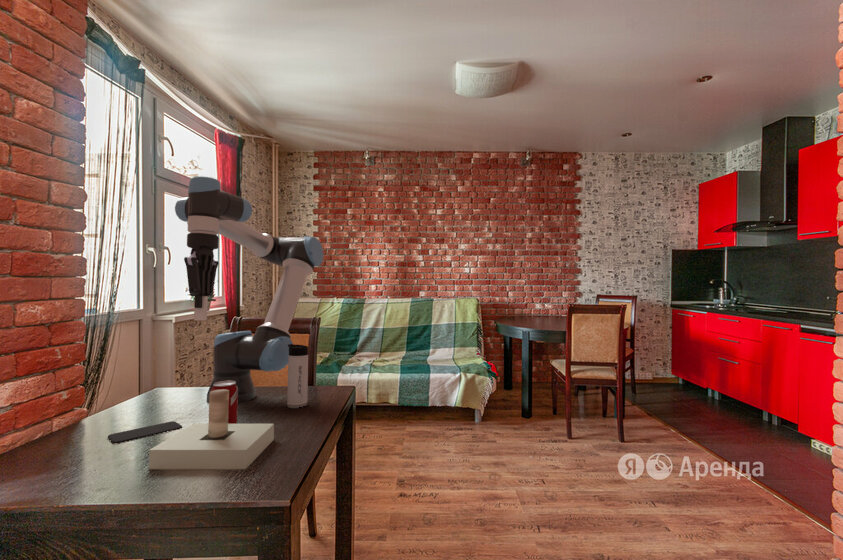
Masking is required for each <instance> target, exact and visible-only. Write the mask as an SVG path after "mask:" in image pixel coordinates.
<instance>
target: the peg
mask: <svg viewBox="0 0 843 560" xmlns="http://www.w3.org/2000/svg"><path fill="white" fill-rule="evenodd" d="M228 408H229V390H225V389H222V390H214V391H211V392H210V394H209V403H208V423H207V424H208V440H225V439H226V438H227V437H228Z"/></svg>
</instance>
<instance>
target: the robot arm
mask: <svg viewBox="0 0 843 560" xmlns="http://www.w3.org/2000/svg"><path fill="white" fill-rule="evenodd" d="M221 189H222V187H221V181H220V180H218V179H217V178H214V177H211V176H206V175H197V176H196V175H195V176H192V177H191V178H190V179H189V183H188V190H187V194H188V195H187V197H182V198H180V199H178V200H177V201H176V203H175V206H174V211H175V215H176V217H178V219H179V220H180V221H182V222H186V223H187V232H189V233H187V235H186V246H187V247H188V248H190V249H191V250H190V254H189V256H185V257H184V259H183V260H184V263H185V267H186V274H187V275H186V277H187V285H188V293H189V295H190V297H194V307H193V308H194V309H193V321H207V320H208V307H209V306H208V305H209V304H208V300H209V299H208V298H209V297H212V296H213V293H214V288H215V281H216V276H217V275H216V274H217V270H218V266H219V263H220V262H219V261H218V260H215V259H214V258H215V255H214V250H218V249H219V242H220V241H219V240H220V238H219V237H220V236H218V235H221V236H222V237H224V238H227V239H228V240H230V241H232V242H234V243H236V244H238V245H240V246H242V247H244V248H246V249H248V250H250V251H251V253H252V254H253V255H254V256H256V257H258V258H260V259H261V260H264V261H266V262H268V263H271V264H273V265H276V266H281V267H283V268H284V270H283V272H282V274H281V278H280V280H279V283H278V286H277V288H276V290H275V293H274V294H273V295H274V296H273V299H272V301H271V304H270V306H269V309H268V312H267V314H266V316H265V319H264V322H263V324H261V325H259V326H257V328H256V329H255V332H254V334H253V333H252V331H251V330H243V331H242V330H241V331H234V332H228V333H227V332H226V333H220V334H217V335H216V336H215V337H214V341H213V342H214V345H213V376H212V380H211V382H210V385H209V387H208V390H207V393H206V402H207V403H208V404H209V394H210V391H211V389H212V388H213V384H214V383H216V382H221V381H235V382H236V384H235V385H236V386H237V387H238V404H239V403H244V402H247V401H250V399H251V400H252V398H253V399H254V398H255V397H256V388H255V385H254V382H253V378H252V376H251V371H261V372H278V371H281V370H282V369H284V368H286V366H288V357H289V356H288V355H289V347H288V345H289V344H293V345H294V343H293V341H292V337H291V336H292V335H291V333H290V332H289V329H290V326H291V324H292V321H293V318H294V315H295V312H296V310H297V306H298V303H299V300H300V297H301V294H302V291H303V288H304V286H305V282H306V280H307V277H308V276H310V275H312V274H313V271H314V268H315V267H319V266H321V265H322V264H323V261H324V250H323V246H322V244H321V242H320V240H319V239H318V238H317V237H314V236H307V235H305V236H294V237H293V236H292V237H286V236H285V237H283V236H282V237H279V236H272V235H271V234H269V233H262V232H260V231H259V230H256V229H255V228H253V227H252V226H249V225H248V224H246V223H245V222H247V221H248V220H250V218H251V216H252V214H253V206H252V204H251V202H250V201H249V200H248V199H246V198H244V197H242V196H239V195H236V194H232V193H230V192H226V191H223V190H221Z"/></svg>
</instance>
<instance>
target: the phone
mask: <svg viewBox="0 0 843 560" xmlns="http://www.w3.org/2000/svg"><path fill="white" fill-rule="evenodd" d="M180 428H181V429H182V428H183V425H181V424H180V423H179V422H176V421H175V420H174V421H173V420H172V421H167V422H162V423H157V424H153V425H148V426H143V427H138V428H135V429H130V430H129V429H128V430H124V431H120V432H113V433H111V434H108V435H107V439H108V438H109V439H108V441H110V440H111V441H110V442H111V443H112V444H113V443H118V444H121V443H120V442H123V443H126V442H125V441H127V442H130V441H129V440H131V441H135V440H134V439H136V440H139V439H138V438H140V439H143V438H142V437H144V438H147V437H146V436H148V437H151V436H150V435H152V436H155V435H154V434H156V435H160V434H159V433H161V434H163V432H165V433H168V432H167V431H169V432H172V431H171V430H173V431H177V430H181V429H180ZM176 429H177V430H176Z"/></svg>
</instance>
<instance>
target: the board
mask: <svg viewBox="0 0 843 560" xmlns="http://www.w3.org/2000/svg"><path fill="white" fill-rule="evenodd" d="M274 434H275V423H237V424H228V437H227V438H226V439H225V440H208V423H192V424H191V425H188V427H185V428H184V429H182V430H180V431H178V432H177V433H175V434H173V436H170V437H169V438H167V439H166V440H164V441H162V442H160V443H159V444H157V445H155V446H154V447H152V448H150V449H149V451H148V454H149V456H148V470H247V468H249V466H250V465H251V464H252V463H253V462H255V460H256V459H257V458H258V457H259V456H260V455H261V454H262V453H263V452H264V451H265V449H266V448H267V447H268V446H269V445H270V444H271V443H272V442H273V441H274V440H275V435H274Z"/></svg>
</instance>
